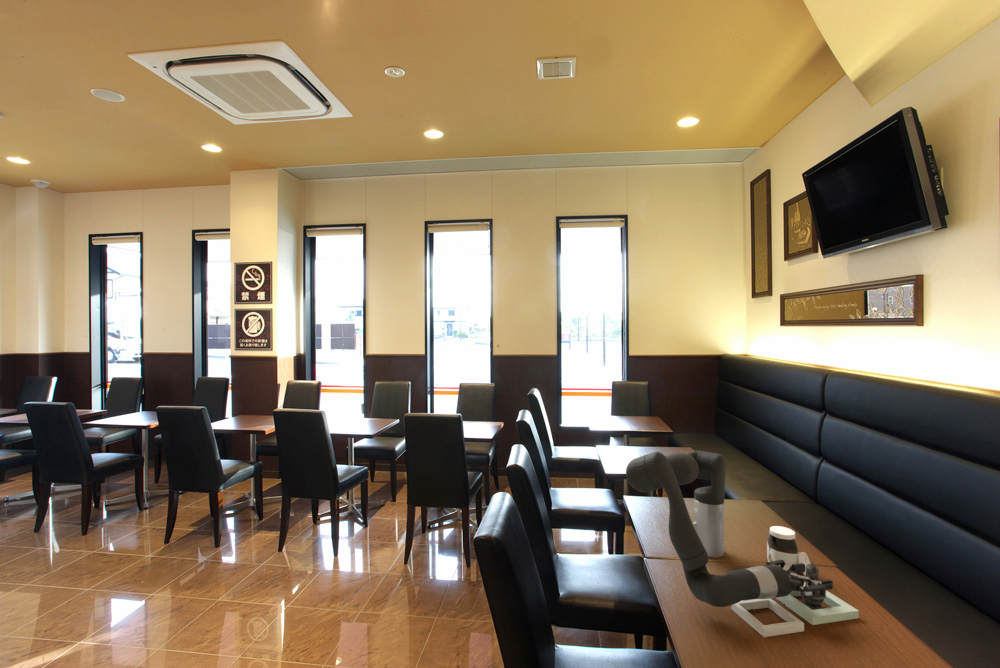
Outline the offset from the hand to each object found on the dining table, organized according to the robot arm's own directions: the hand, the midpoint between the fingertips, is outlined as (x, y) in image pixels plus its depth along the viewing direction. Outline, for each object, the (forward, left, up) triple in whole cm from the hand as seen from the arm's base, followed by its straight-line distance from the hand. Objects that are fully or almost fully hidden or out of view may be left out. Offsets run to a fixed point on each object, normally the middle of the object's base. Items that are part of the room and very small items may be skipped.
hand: (817, 575), depth 124 cm
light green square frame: (-1, -1, -8) cm, 8 cm away
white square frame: (-12, -14, -8) cm, 20 cm away
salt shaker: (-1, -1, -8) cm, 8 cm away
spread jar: (-5, +18, -8) cm, 20 cm away
